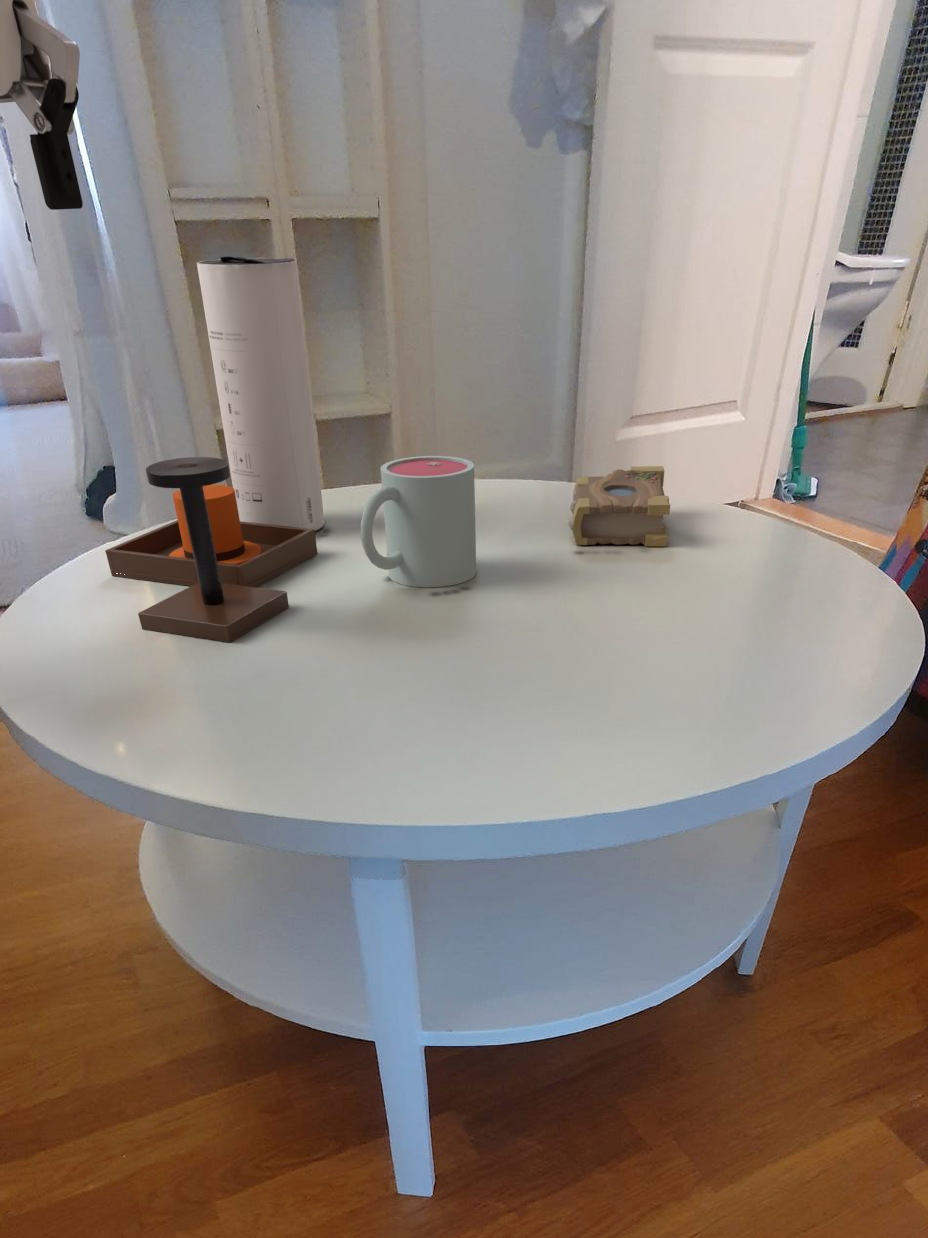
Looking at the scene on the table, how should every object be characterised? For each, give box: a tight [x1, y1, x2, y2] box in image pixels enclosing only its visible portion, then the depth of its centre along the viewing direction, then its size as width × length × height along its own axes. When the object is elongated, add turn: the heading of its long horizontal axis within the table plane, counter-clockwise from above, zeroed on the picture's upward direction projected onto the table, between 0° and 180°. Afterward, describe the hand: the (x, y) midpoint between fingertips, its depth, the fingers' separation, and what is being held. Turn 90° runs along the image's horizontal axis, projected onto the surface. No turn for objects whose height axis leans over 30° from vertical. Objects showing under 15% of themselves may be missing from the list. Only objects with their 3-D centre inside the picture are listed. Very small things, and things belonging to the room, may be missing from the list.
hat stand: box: [137, 456, 290, 643], centre depth 85 cm, size 10×10×13 cm
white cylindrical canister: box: [196, 255, 325, 532], centre depth 104 cm, size 11×10×26 cm
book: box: [567, 465, 671, 547], centre depth 107 cm, size 15×11×5 cm
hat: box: [169, 484, 262, 565], centre depth 100 cm, size 10×10×7 cm
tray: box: [105, 519, 319, 588], centre depth 101 cm, size 17×14×3 cm
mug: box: [360, 455, 477, 588], centre depth 94 cm, size 14×9×10 cm
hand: (15, 210), depth 70 cm, fingers open, 9 cm apart
